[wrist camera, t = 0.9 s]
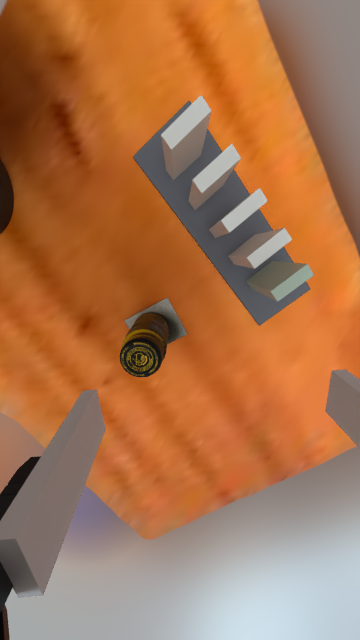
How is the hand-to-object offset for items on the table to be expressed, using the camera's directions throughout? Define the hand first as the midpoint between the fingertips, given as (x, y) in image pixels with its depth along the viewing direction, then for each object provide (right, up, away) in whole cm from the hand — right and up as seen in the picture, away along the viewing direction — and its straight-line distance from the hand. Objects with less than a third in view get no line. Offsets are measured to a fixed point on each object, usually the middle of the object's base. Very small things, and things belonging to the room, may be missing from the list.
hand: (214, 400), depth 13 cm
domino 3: (+5, +19, +21) cm, 29 cm away
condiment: (-6, +3, +26) cm, 27 cm away
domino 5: (+11, +12, +23) cm, 28 cm away
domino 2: (+2, +23, +20) cm, 30 cm away
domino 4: (+8, +15, +22) cm, 28 cm away
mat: (+5, +19, +21) cm, 29 cm away
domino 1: (-2, +27, +19) cm, 32 cm away
